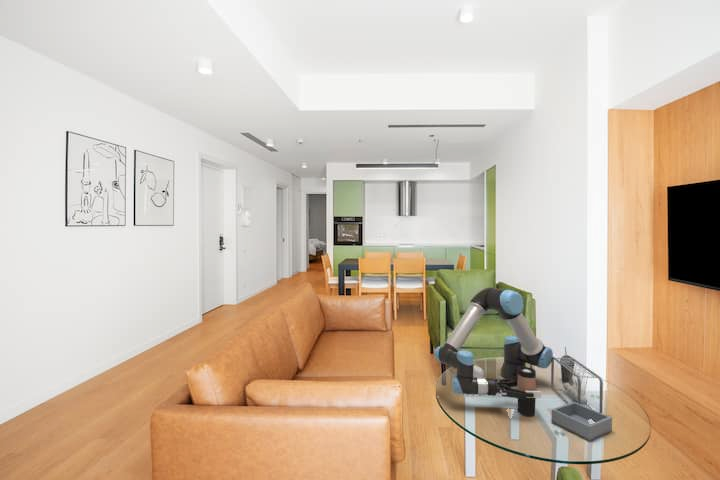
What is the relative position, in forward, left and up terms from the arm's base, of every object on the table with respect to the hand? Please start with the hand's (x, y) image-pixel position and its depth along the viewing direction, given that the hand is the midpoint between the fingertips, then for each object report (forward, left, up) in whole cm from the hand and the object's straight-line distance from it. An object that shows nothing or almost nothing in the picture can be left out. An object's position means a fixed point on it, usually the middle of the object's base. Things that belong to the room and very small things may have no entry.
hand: (536, 389), depth 162 cm
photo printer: (+5, -32, -11) cm, 35 cm away
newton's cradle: (-28, +1, -11) cm, 31 cm away
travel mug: (+3, -2, -11) cm, 12 cm away
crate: (-7, +17, -11) cm, 21 cm away
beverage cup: (-47, -14, -11) cm, 50 cm away
